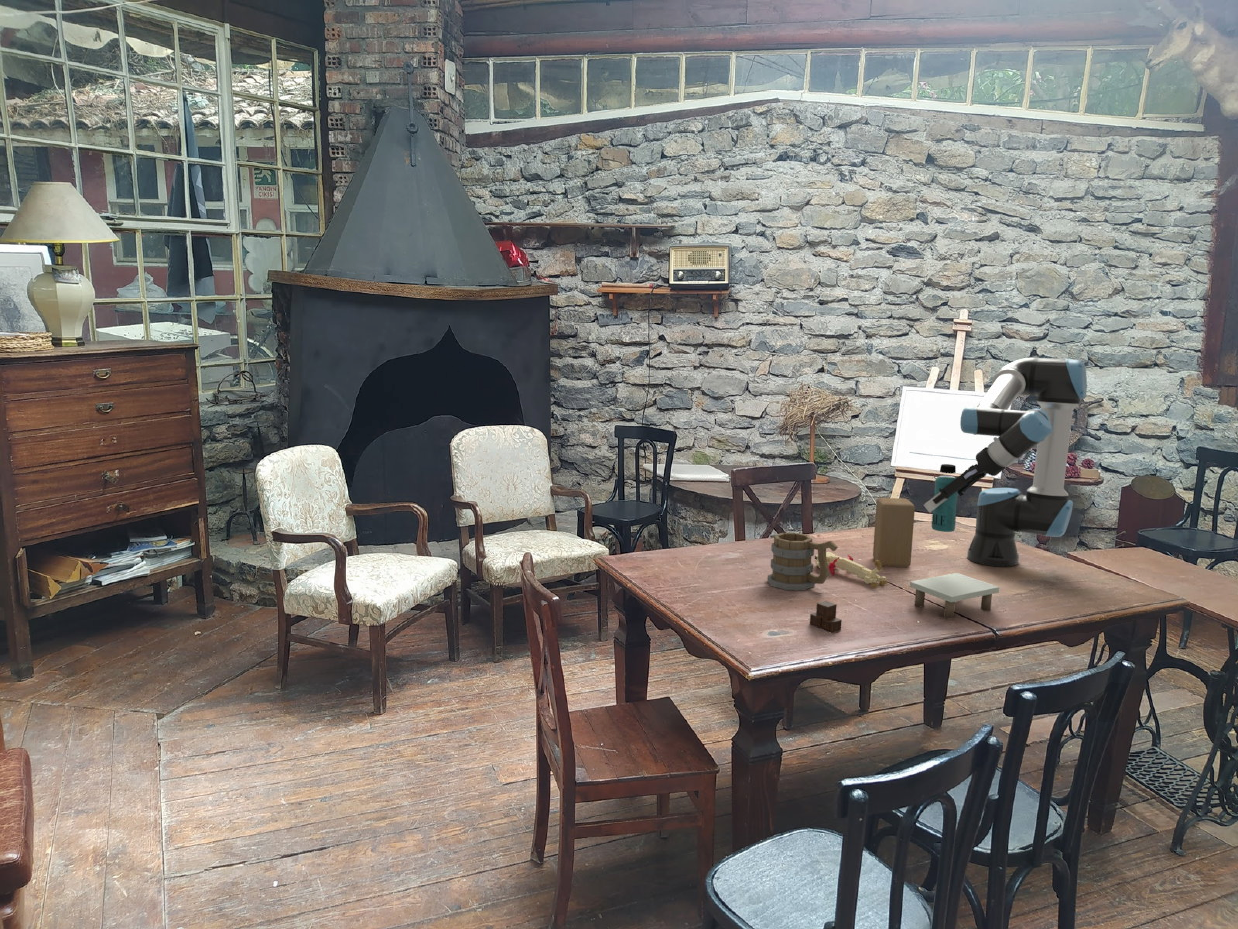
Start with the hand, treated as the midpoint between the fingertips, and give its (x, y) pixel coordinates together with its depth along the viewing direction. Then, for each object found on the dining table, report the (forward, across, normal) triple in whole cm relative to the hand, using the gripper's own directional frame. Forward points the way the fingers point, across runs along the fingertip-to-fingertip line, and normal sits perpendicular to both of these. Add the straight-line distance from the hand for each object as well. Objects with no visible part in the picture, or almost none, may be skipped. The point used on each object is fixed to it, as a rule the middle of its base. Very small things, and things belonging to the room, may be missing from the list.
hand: (932, 506), depth 249 cm
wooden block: (+30, -16, +4) cm, 34 cm away
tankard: (+36, +24, -1) cm, 43 cm away
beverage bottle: (+3, 0, +8) cm, 8 cm away
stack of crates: (+21, +47, +14) cm, 54 cm away
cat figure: (+33, +6, +2) cm, 33 cm away
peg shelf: (+8, +11, +26) cm, 29 cm away
